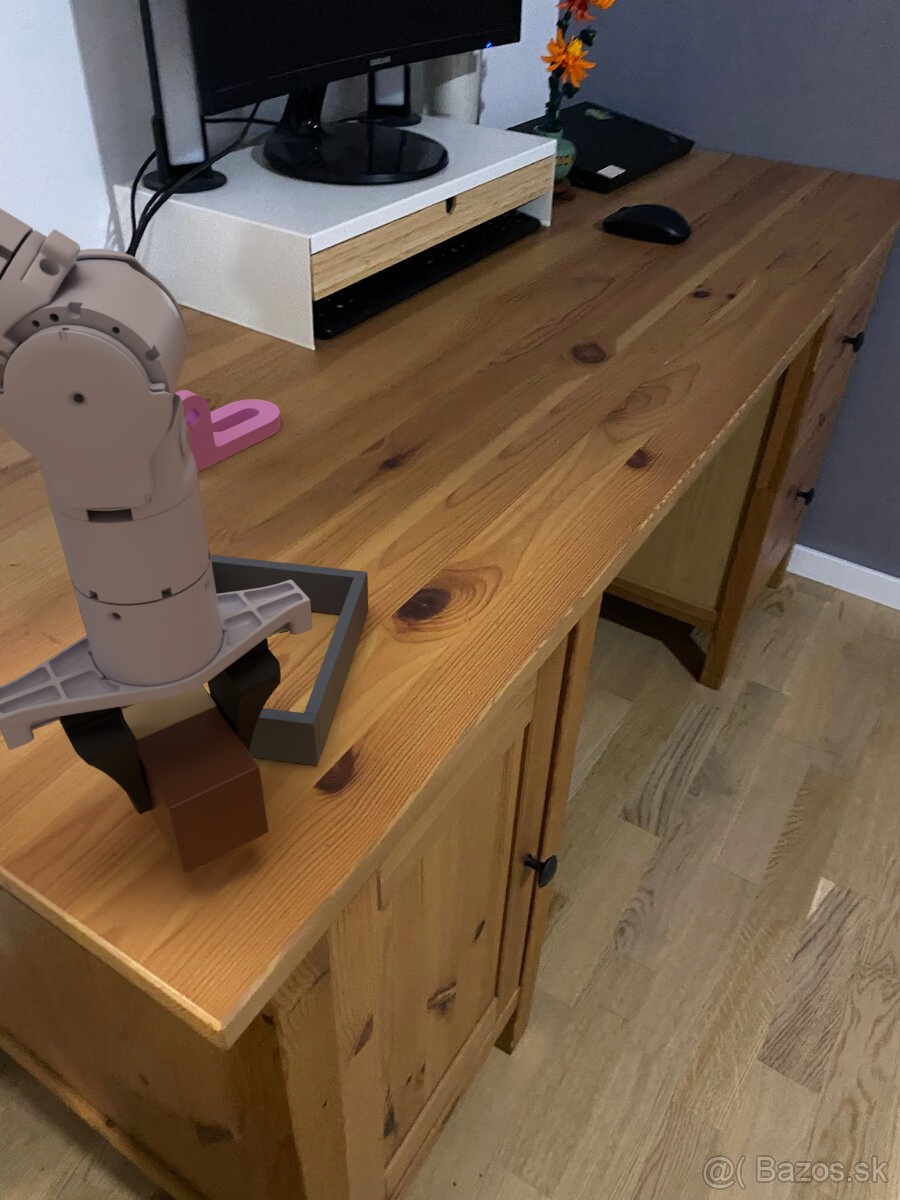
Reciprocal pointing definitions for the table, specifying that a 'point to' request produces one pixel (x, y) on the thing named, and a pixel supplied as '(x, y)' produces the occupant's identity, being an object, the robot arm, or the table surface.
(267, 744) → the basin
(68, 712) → the robot arm
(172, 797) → the brown tan banded block
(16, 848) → the table surface
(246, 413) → the bracket
